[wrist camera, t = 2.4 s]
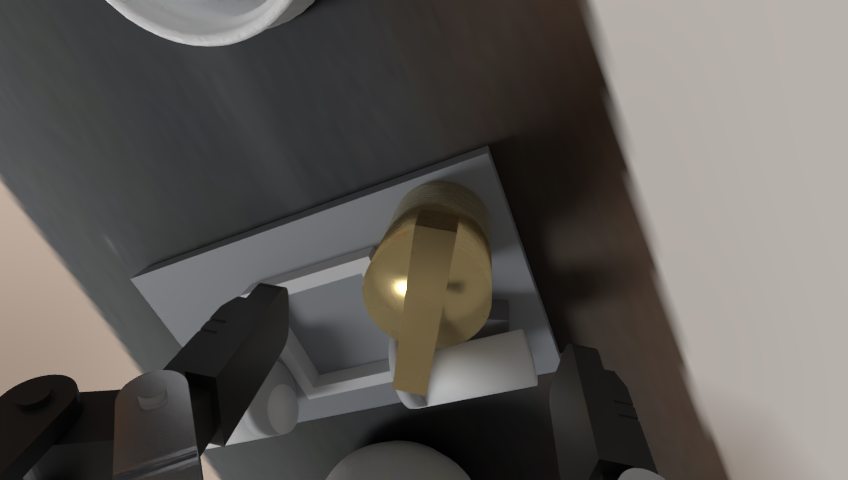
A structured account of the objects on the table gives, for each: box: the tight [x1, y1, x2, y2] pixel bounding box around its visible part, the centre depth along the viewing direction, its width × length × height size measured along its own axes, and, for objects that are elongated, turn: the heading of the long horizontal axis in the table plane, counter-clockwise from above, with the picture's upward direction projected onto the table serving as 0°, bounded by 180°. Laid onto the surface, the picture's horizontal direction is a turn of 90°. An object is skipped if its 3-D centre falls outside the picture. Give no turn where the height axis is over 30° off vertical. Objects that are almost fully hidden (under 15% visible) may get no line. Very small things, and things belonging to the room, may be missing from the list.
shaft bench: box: [131, 145, 561, 449], centre depth 22 cm, size 20×12×6 cm, turn 112°
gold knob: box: [362, 181, 492, 396], centre depth 17 cm, size 6×4×7 cm
